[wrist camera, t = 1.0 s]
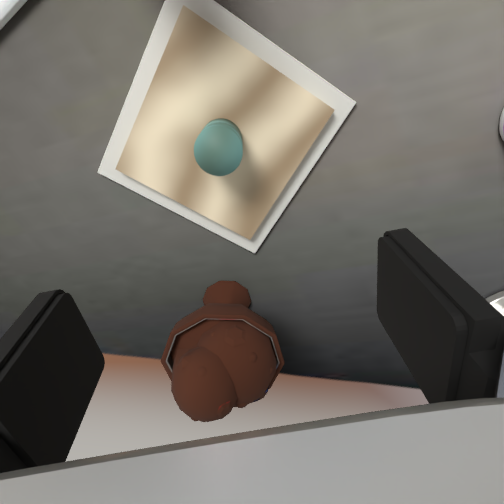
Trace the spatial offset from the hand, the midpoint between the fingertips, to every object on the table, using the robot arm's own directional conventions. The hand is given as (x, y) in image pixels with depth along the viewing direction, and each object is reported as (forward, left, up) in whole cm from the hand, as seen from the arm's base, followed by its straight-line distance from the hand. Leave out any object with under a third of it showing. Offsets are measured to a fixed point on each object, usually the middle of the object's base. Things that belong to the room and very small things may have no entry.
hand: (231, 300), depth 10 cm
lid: (+2, 0, -23) cm, 23 cm away
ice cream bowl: (-7, +15, -24) cm, 29 cm away
